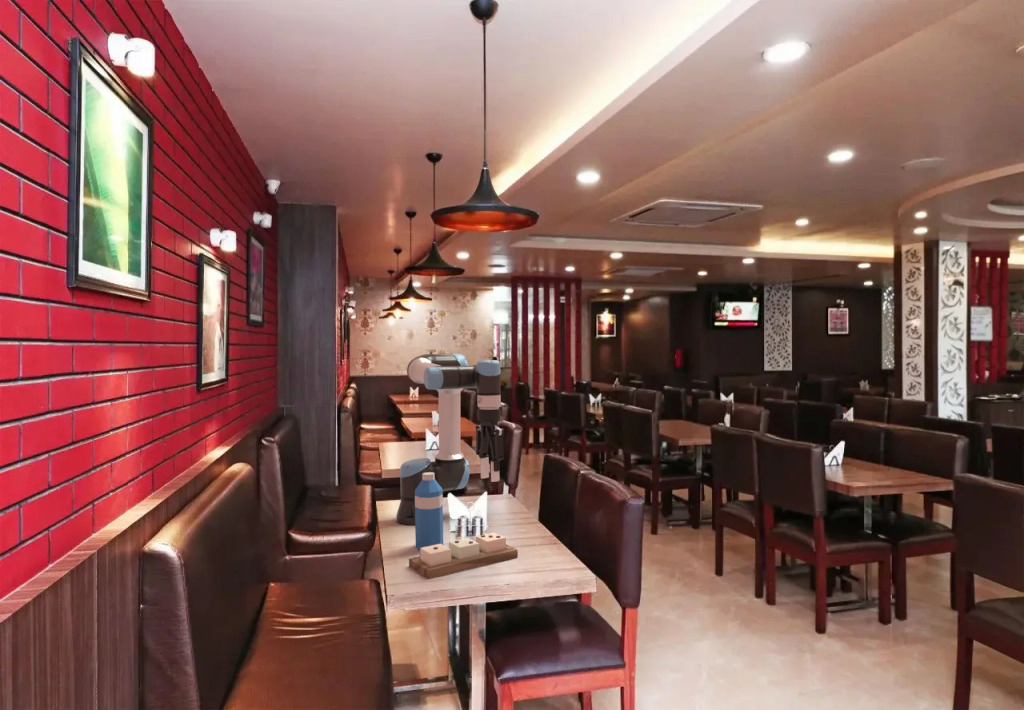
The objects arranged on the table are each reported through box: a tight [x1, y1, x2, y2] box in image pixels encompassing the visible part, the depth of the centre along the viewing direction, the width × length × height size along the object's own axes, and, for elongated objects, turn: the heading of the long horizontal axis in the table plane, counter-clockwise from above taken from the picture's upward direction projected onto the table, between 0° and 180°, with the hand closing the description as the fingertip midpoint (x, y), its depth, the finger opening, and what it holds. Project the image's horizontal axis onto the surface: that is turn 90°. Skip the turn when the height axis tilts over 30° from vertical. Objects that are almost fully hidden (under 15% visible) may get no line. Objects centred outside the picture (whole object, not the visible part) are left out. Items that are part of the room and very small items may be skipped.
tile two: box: [448, 537, 479, 560], centre depth 207 cm, size 7×7×4 cm
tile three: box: [475, 532, 507, 553], centre depth 212 cm, size 7×7×4 cm
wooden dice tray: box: [408, 544, 519, 580], centre depth 207 cm, size 13×32×2 cm, turn 124°
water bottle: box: [414, 472, 444, 551], centre depth 222 cm, size 9×9×25 cm
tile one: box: [419, 544, 451, 567], centre depth 201 cm, size 7×7×4 cm
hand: (490, 479), depth 212 cm, fingers open, 6 cm apart
